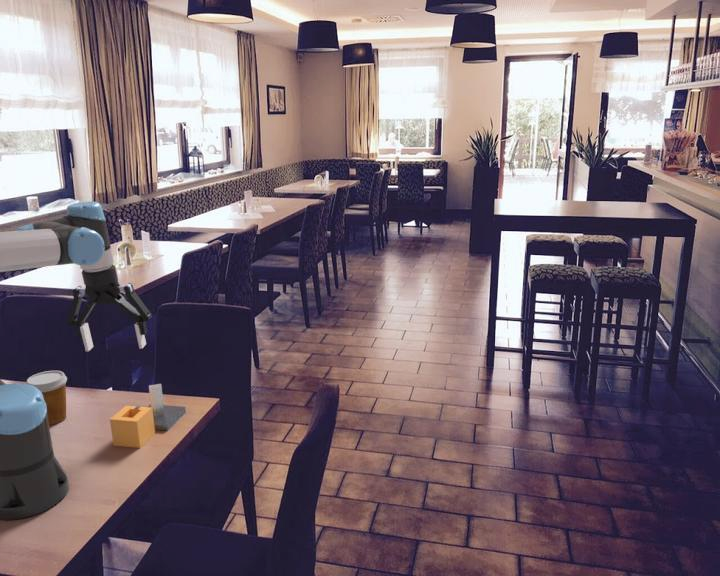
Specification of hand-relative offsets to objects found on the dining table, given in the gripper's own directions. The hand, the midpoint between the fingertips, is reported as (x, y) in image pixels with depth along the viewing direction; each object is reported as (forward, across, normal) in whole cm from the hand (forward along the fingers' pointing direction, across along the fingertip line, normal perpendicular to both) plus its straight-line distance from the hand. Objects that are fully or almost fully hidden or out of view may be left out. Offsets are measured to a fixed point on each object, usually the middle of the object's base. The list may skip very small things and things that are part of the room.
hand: (116, 347), depth 150 cm
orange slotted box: (+20, -5, +11) cm, 23 cm away
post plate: (+20, -8, +1) cm, 22 cm away
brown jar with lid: (+19, +20, +1) cm, 28 cm away
